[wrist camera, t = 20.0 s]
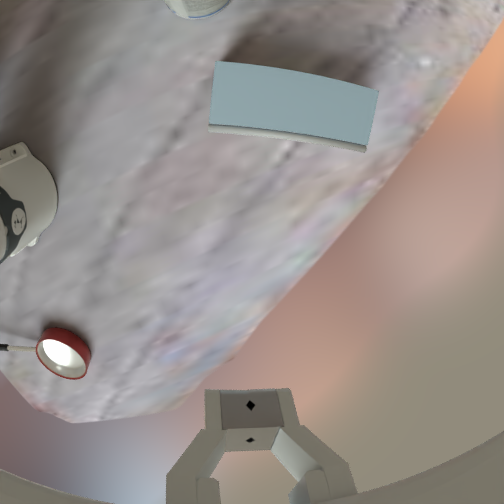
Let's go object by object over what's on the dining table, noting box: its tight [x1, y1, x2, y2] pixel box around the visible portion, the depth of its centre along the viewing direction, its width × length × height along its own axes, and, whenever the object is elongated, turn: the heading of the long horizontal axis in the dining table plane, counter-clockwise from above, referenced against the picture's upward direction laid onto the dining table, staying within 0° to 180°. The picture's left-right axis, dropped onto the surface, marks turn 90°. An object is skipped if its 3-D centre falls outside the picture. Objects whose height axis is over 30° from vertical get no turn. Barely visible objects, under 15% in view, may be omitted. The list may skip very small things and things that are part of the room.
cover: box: [208, 61, 379, 153], centre depth 33 cm, size 20×9×1 cm, turn 83°
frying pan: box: [0, 327, 91, 380], centre depth 55 cm, size 32×13×6 cm, turn 88°
